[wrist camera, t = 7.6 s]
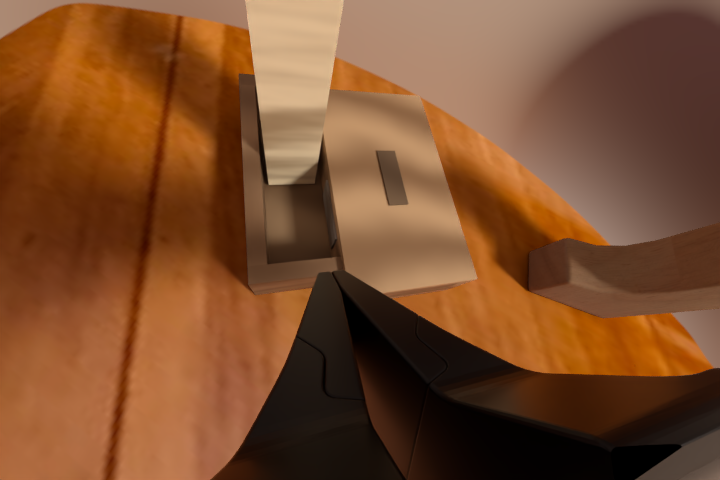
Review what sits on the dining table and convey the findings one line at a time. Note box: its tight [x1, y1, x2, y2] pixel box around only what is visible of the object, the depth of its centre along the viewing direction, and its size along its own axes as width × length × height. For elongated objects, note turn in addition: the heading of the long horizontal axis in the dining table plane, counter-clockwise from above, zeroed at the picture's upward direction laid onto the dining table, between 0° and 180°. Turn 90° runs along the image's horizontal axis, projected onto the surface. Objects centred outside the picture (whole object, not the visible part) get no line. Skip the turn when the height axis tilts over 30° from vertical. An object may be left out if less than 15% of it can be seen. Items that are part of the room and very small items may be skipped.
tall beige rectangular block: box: [245, 0, 344, 185], centre depth 17 cm, size 5×4×19 cm
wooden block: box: [528, 223, 720, 318], centre depth 20 cm, size 9×4×18 cm, turn 74°
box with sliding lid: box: [239, 74, 478, 298], centre depth 23 cm, size 20×16×5 cm
